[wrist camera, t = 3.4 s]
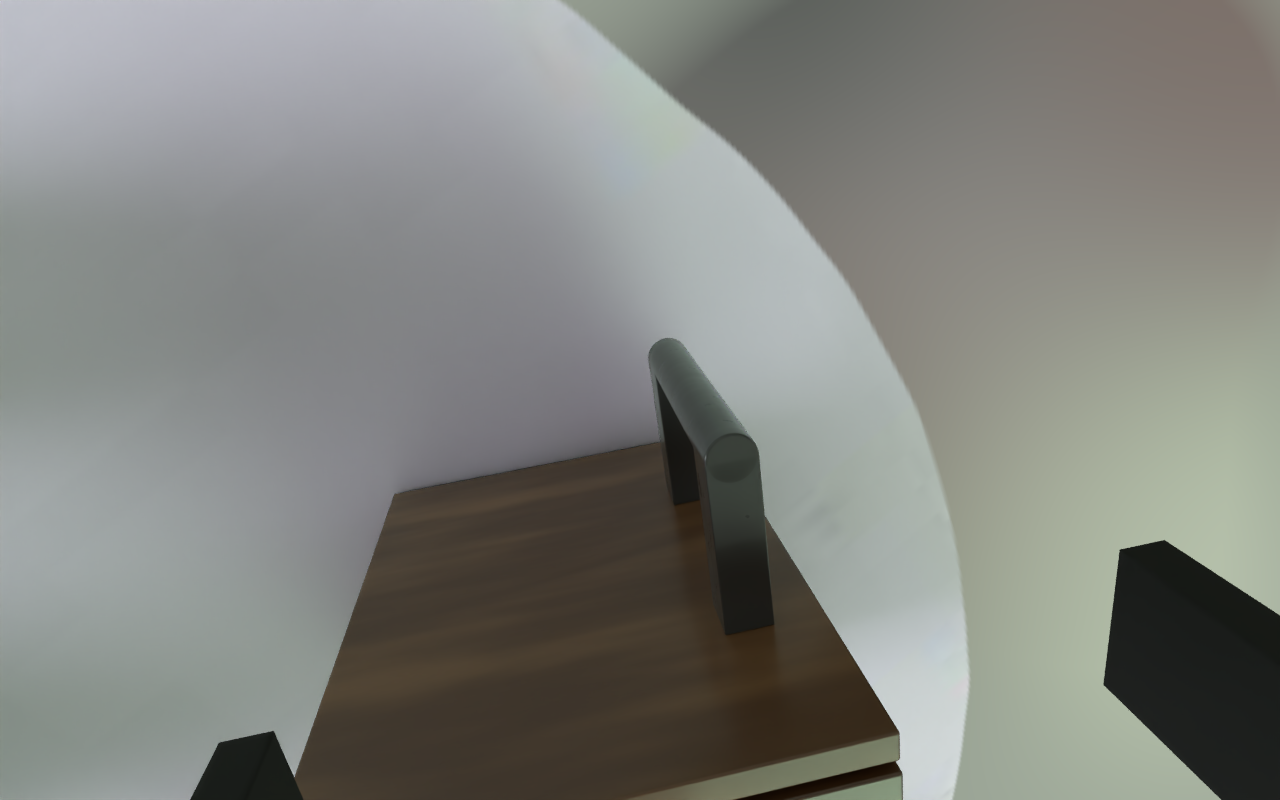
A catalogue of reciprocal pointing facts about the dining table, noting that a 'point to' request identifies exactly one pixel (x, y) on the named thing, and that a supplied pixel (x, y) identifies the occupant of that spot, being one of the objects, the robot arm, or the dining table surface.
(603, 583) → the cupboard door
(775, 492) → the dining table surface
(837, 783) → the cupboard
